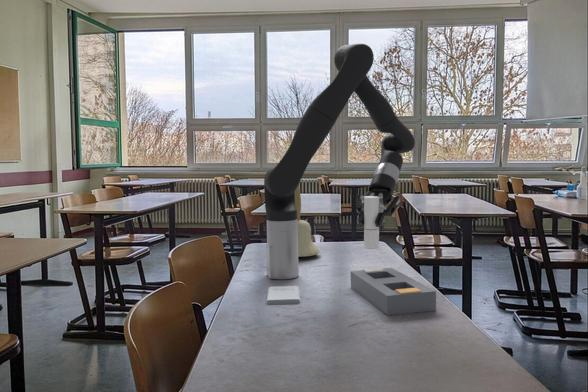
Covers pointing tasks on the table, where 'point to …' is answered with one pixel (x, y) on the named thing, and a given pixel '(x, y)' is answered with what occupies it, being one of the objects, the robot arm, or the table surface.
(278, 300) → the external hard drive
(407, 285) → the socket block
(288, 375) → the table surface
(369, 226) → the tube
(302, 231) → the handbell
